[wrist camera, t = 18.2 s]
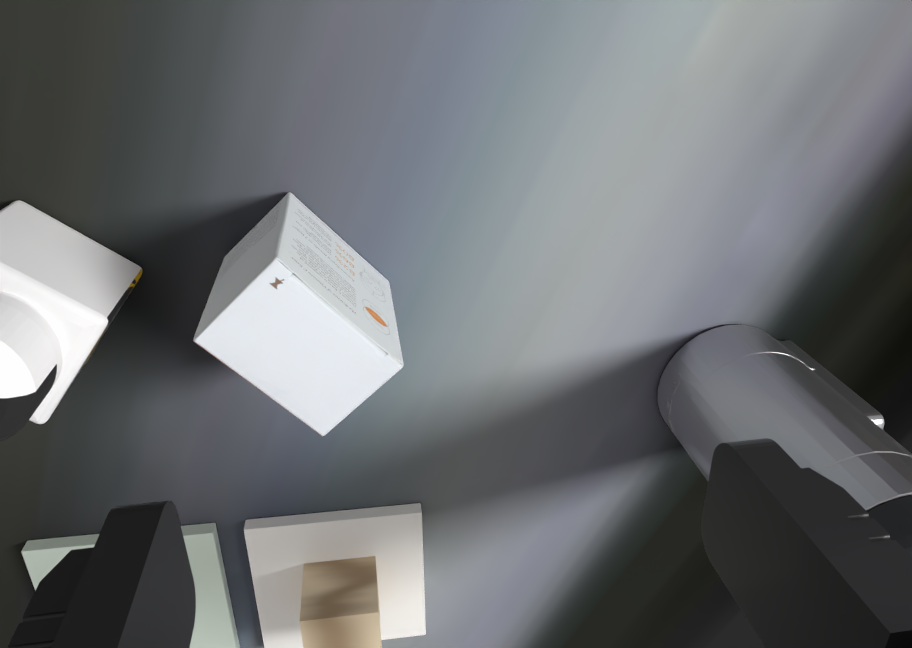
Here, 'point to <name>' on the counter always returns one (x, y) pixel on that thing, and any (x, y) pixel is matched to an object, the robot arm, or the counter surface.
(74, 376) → the medicine bottle
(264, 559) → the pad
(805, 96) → the counter surface
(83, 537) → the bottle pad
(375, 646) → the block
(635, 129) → the counter surface
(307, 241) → the small box
